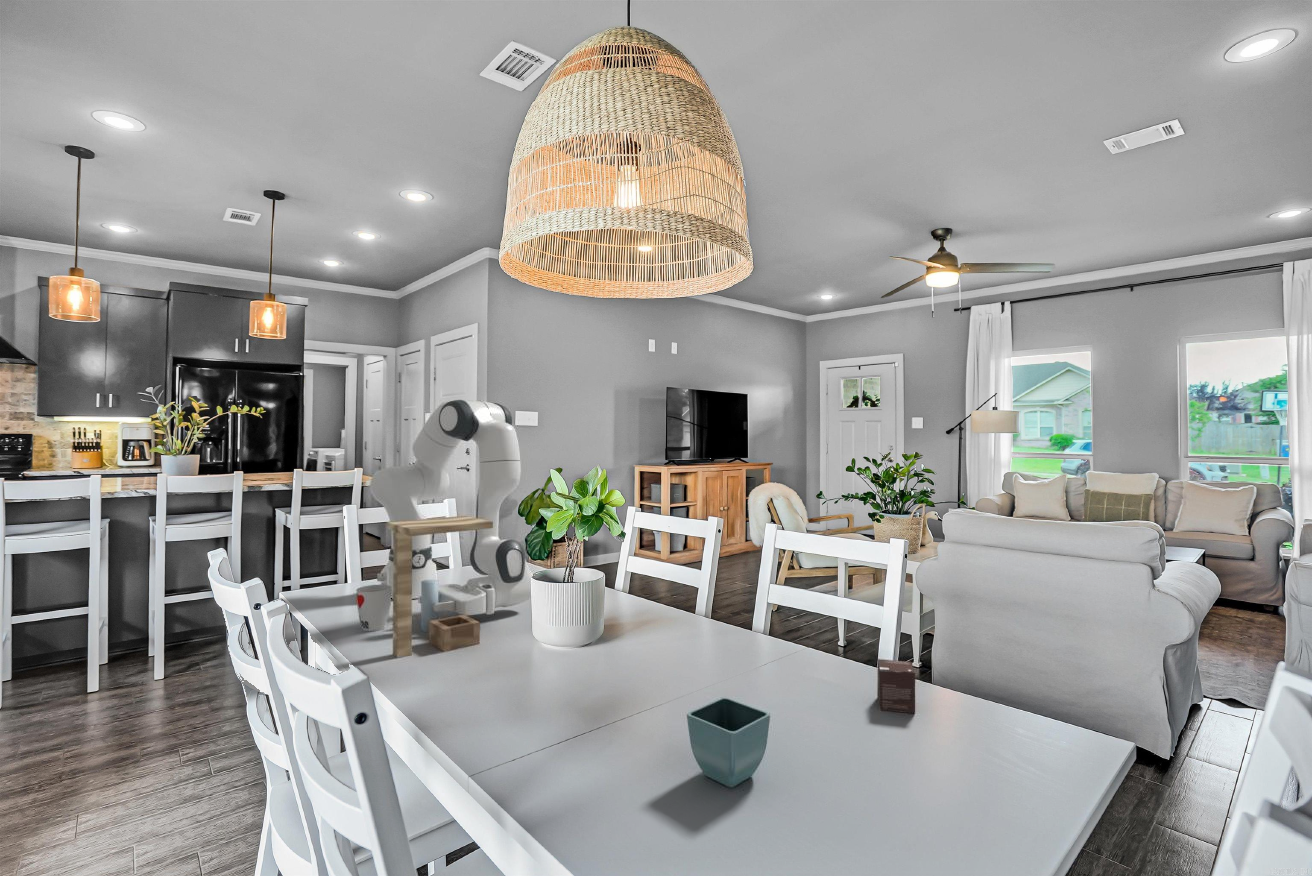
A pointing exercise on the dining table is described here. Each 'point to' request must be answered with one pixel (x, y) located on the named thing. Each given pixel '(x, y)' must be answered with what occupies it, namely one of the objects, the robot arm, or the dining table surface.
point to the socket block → (454, 632)
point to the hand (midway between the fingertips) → (426, 603)
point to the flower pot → (728, 739)
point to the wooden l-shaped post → (404, 568)
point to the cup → (373, 606)
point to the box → (896, 686)
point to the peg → (428, 603)
